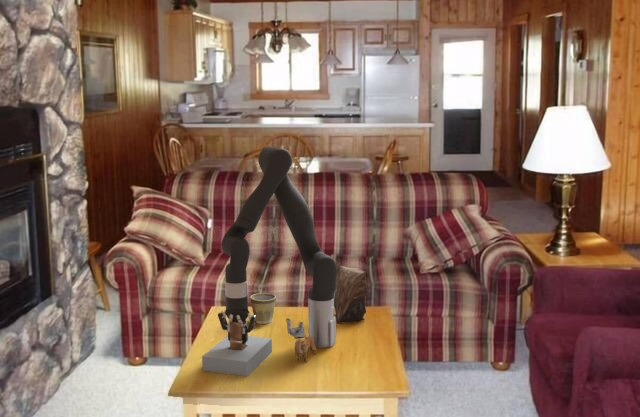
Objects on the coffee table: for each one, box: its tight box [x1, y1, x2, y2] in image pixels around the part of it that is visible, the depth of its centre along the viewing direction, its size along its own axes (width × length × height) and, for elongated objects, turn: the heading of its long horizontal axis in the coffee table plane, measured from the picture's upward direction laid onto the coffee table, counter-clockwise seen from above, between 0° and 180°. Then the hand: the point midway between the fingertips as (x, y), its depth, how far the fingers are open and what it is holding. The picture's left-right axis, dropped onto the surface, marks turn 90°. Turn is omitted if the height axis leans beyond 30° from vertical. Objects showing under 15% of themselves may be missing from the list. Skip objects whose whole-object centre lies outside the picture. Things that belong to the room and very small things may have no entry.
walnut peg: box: [230, 321, 246, 351], centre depth 266 cm, size 4×4×12 cm
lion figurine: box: [294, 336, 317, 363], centre depth 269 cm, size 15×5×9 cm, turn 165°
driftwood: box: [286, 318, 307, 339], centre depth 299 cm, size 21×7×2 cm, turn 4°
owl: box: [334, 265, 368, 324], centre depth 309 cm, size 13×13×20 cm
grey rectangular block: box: [201, 335, 273, 377], centre depth 267 cm, size 16×22×5 cm
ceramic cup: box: [249, 292, 277, 325], centre depth 308 cm, size 13×10×10 cm
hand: (238, 342), depth 266 cm, fingers closed on walnut peg, 4 cm apart
